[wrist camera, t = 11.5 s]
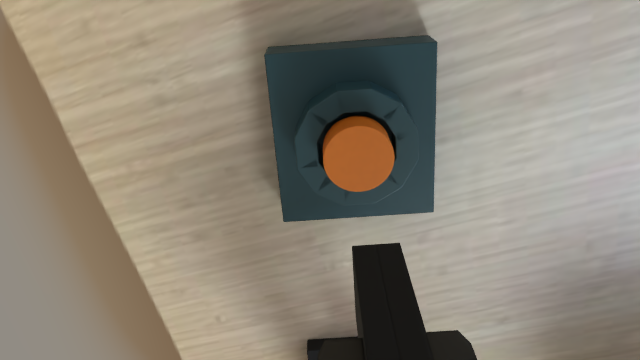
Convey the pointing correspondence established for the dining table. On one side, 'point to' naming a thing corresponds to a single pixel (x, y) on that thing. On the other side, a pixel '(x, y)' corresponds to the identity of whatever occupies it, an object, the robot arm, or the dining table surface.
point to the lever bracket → (317, 347)
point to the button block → (353, 100)
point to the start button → (357, 154)
